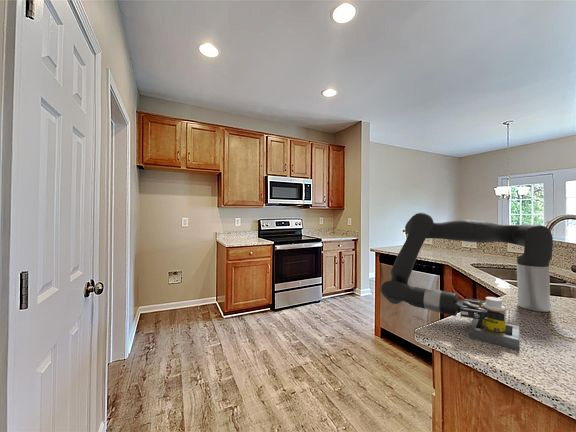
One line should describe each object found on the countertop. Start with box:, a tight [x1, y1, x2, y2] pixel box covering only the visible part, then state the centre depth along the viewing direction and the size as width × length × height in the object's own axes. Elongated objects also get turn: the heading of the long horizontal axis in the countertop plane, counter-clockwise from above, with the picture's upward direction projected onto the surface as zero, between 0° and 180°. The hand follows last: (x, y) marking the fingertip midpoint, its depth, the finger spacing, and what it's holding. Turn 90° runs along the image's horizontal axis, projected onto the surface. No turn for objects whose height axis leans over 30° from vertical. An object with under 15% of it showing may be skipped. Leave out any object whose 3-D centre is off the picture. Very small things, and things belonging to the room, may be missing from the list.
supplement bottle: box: [482, 296, 507, 335], centre depth 78 cm, size 6×6×10 cm
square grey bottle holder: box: [468, 318, 521, 352], centre depth 78 cm, size 11×11×3 cm
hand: (504, 314), depth 76 cm, fingers closed on supplement bottle, 5 cm apart
